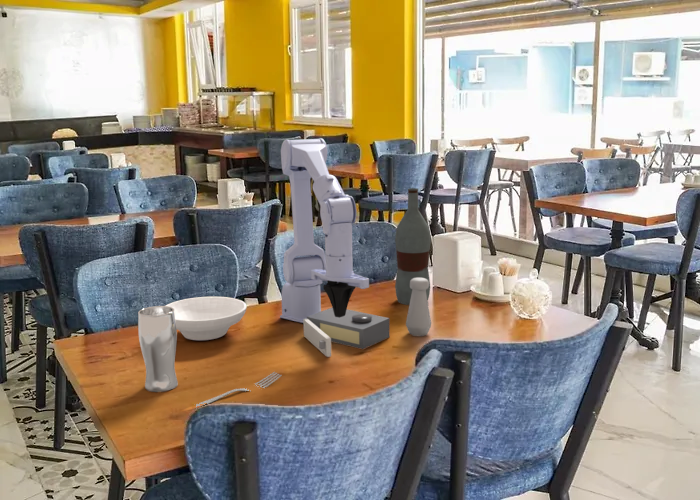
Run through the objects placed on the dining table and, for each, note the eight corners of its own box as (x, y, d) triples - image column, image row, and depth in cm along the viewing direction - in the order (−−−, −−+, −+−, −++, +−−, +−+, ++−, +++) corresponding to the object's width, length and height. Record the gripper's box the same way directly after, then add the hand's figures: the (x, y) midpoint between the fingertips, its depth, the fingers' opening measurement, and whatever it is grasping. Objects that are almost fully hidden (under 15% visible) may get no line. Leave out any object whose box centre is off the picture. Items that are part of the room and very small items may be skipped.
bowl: (265, 334, 171) (264, 306, 170) (195, 357, 157) (193, 326, 156) (213, 318, 184) (212, 292, 183) (144, 337, 170) (142, 309, 169)
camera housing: (307, 335, 170) (306, 313, 169) (334, 324, 178) (334, 303, 177) (362, 349, 160) (362, 326, 159) (389, 337, 168) (389, 314, 167)
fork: (161, 415, 130) (160, 406, 129) (274, 379, 145) (273, 370, 145) (170, 421, 127) (169, 411, 127) (283, 383, 143) (283, 375, 143)
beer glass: (146, 380, 145) (140, 306, 142) (182, 378, 145) (177, 304, 142) (139, 394, 138) (133, 316, 135) (177, 392, 139) (172, 315, 135)
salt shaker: (429, 338, 167) (430, 282, 164) (404, 336, 168) (405, 281, 165) (432, 330, 172) (433, 276, 170) (407, 329, 174) (408, 275, 171)
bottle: (437, 300, 197) (438, 188, 191) (416, 307, 190) (417, 192, 184) (408, 294, 203) (409, 185, 197) (388, 301, 197) (387, 189, 190)
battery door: (299, 335, 169) (298, 319, 168) (307, 334, 170) (306, 318, 169) (322, 357, 155) (321, 339, 154) (331, 356, 156) (330, 338, 155)
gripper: (377, 255, 155) (378, 317, 157) (325, 247, 164) (326, 306, 166) (356, 261, 149) (357, 325, 152) (303, 252, 158) (305, 313, 161)
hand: (340, 316), depth 159 cm, fingers closed
